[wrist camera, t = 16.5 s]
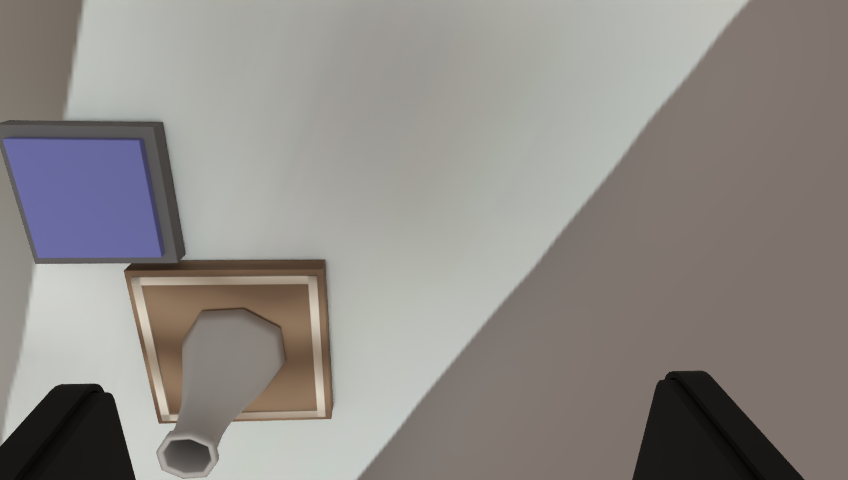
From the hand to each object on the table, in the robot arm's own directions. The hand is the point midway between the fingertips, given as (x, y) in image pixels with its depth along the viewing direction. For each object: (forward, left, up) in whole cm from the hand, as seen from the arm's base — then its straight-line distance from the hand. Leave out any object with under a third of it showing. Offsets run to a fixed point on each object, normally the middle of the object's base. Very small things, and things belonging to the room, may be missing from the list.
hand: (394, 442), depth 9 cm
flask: (+15, -11, -25) cm, 31 cm away
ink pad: (+4, -18, -26) cm, 32 cm away
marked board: (+16, -11, -26) cm, 32 cm away
